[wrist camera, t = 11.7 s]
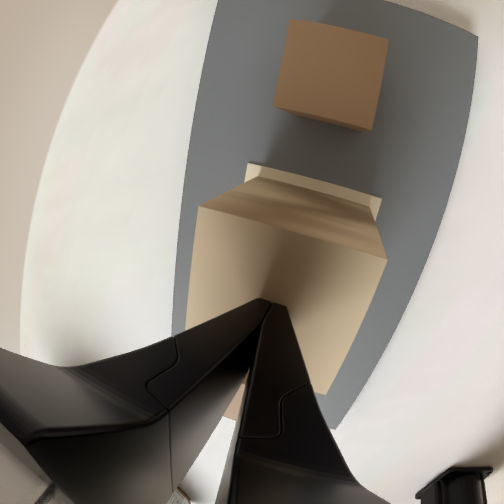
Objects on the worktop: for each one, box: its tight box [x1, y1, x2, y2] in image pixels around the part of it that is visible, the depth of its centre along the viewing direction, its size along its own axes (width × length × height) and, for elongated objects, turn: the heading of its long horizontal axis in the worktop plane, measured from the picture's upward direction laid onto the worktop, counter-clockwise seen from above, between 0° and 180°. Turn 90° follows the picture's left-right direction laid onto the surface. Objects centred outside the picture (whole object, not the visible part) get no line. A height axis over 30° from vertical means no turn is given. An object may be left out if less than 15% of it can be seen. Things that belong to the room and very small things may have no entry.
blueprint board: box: [171, 0, 478, 429], centre depth 13 cm, size 12×24×5 cm, turn 170°
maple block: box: [185, 176, 388, 395], centre depth 11 cm, size 5×5×6 cm
